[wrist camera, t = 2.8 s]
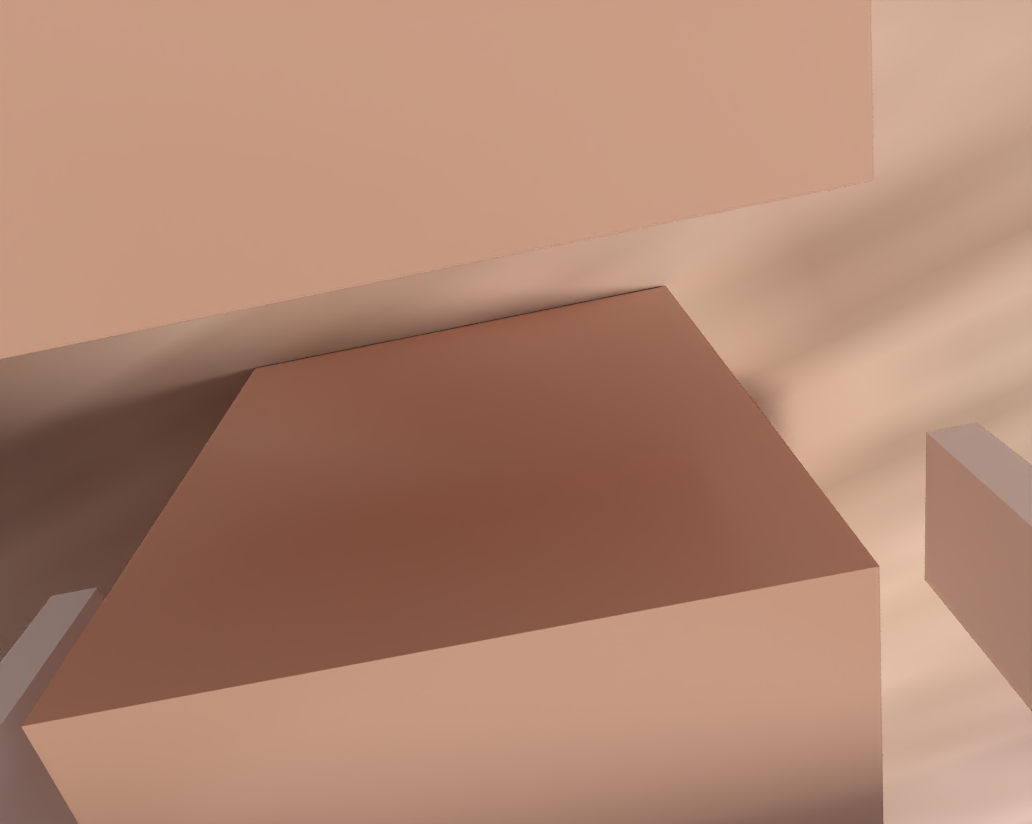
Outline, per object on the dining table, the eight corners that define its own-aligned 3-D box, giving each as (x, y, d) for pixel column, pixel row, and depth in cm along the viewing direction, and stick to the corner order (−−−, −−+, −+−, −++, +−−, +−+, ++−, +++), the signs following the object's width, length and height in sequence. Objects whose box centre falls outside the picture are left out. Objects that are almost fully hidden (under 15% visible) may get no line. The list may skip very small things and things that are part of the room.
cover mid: (365, 683, 17) (283, 1171, 10) (254, 368, 14) (21, 726, 7) (706, 620, 17) (887, 1072, 9) (665, 286, 14) (879, 566, 7)
